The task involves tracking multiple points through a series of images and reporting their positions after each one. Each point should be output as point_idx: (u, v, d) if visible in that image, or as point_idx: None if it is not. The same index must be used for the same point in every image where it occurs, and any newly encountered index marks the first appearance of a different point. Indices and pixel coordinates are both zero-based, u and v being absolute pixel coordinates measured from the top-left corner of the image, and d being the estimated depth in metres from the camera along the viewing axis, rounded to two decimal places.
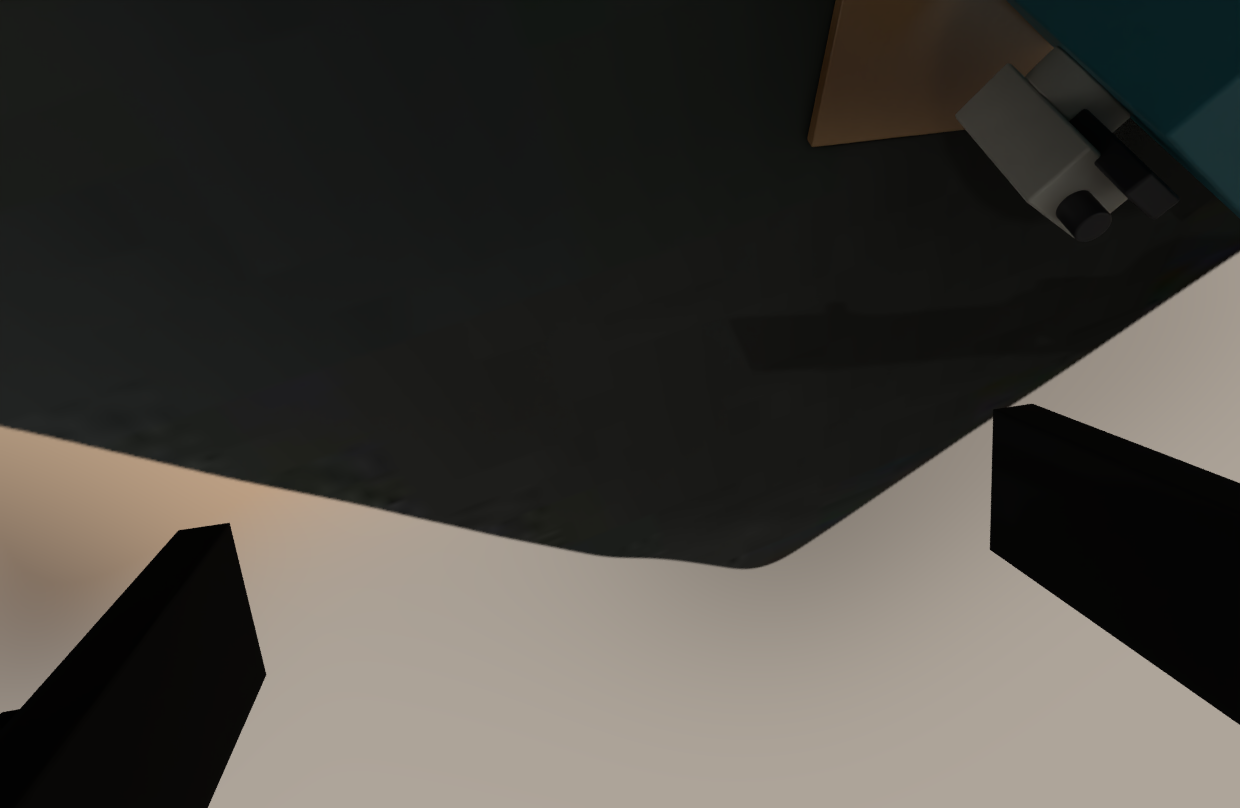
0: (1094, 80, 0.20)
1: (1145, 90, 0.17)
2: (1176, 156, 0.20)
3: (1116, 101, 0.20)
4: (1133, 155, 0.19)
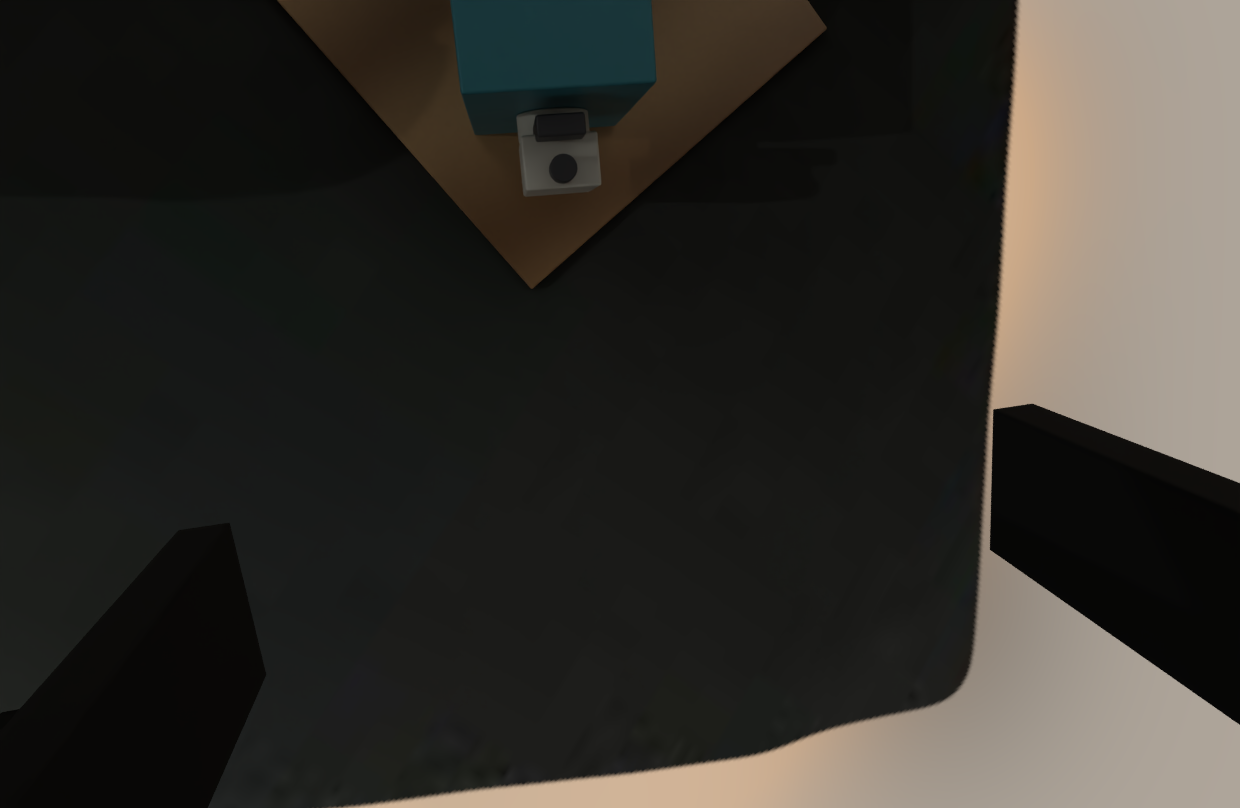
0: (526, 112, 0.29)
1: None
2: (580, 98, 0.27)
3: (545, 109, 0.29)
4: None
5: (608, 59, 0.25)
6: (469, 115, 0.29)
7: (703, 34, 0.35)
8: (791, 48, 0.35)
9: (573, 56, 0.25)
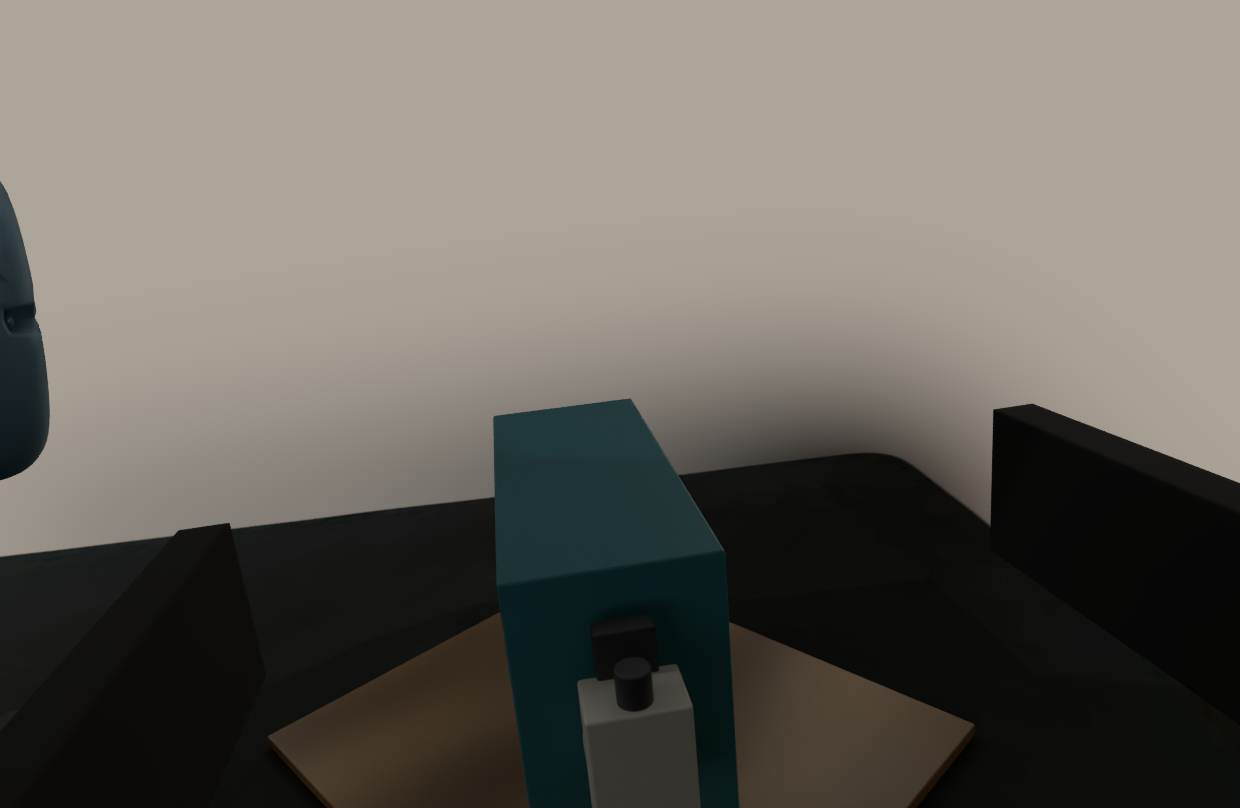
0: None
1: (502, 620, 0.21)
2: None
3: None
4: None
5: (665, 546, 0.22)
6: (519, 731, 0.22)
7: (826, 751, 0.28)
8: (942, 746, 0.28)
9: (625, 549, 0.22)
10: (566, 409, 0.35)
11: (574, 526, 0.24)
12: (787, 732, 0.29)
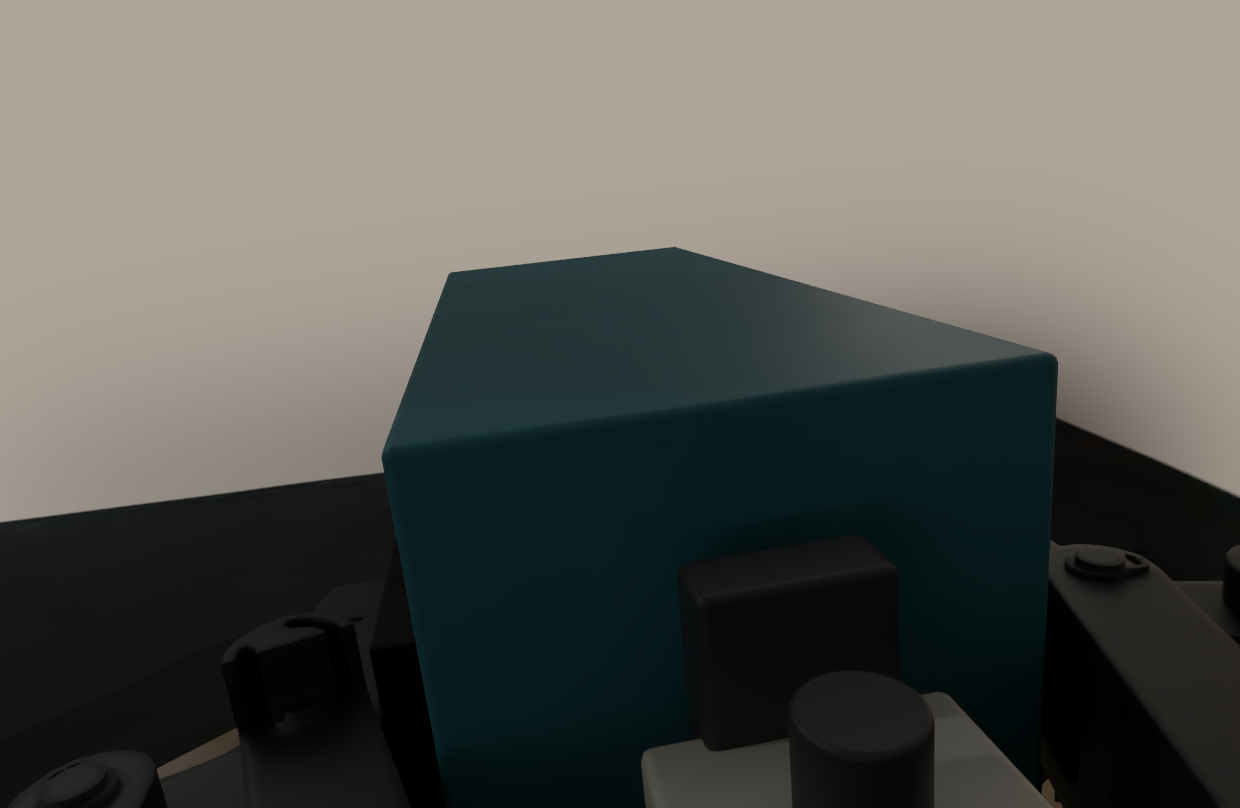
0: None
1: None
2: None
3: None
4: None
5: (870, 356, 0.08)
6: None
7: None
8: None
9: (760, 368, 0.08)
10: (571, 260, 0.21)
11: (607, 348, 0.10)
12: None
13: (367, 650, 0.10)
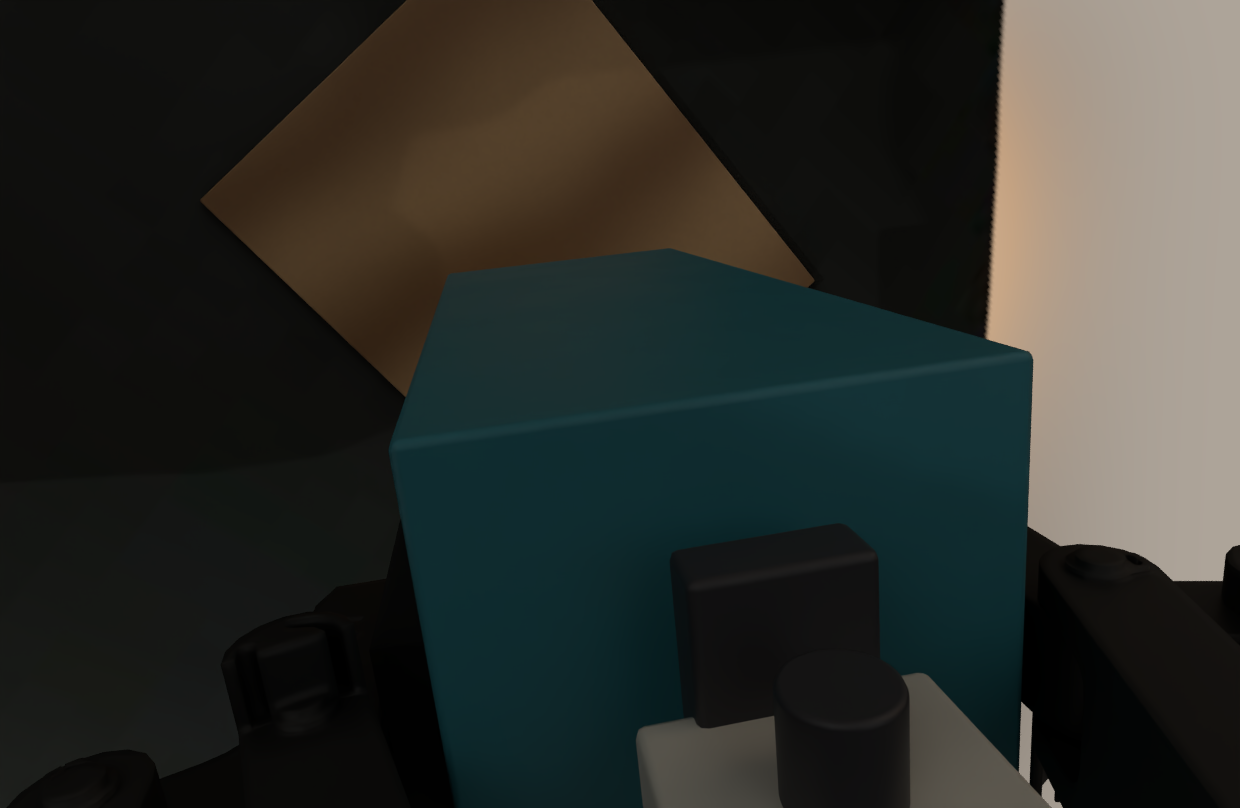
0: None
1: None
2: None
3: None
4: None
5: (856, 354, 0.08)
6: None
7: None
8: None
9: (750, 366, 0.08)
10: (568, 261, 0.21)
11: (603, 346, 0.10)
12: None
13: (367, 650, 0.10)
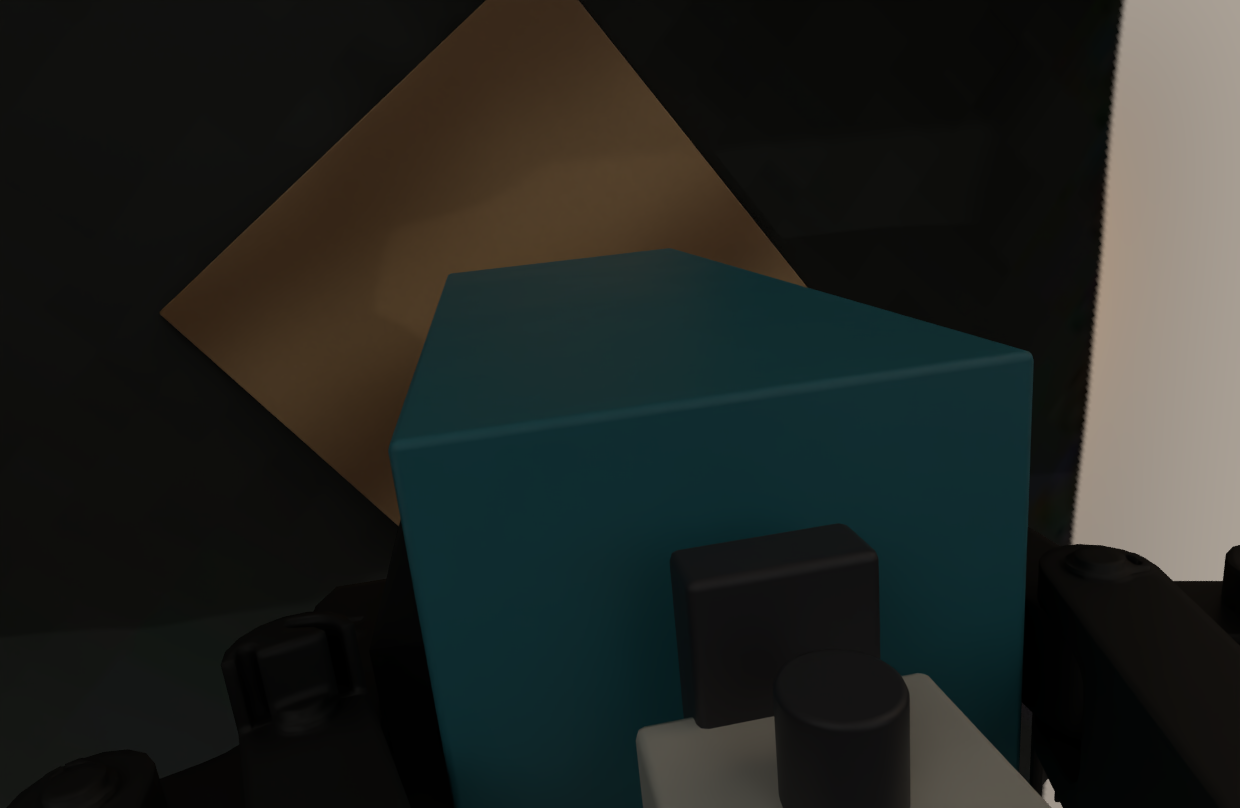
0: None
1: None
2: None
3: None
4: None
5: (855, 355, 0.08)
6: None
7: None
8: None
9: (750, 366, 0.08)
10: (568, 261, 0.21)
11: (603, 348, 0.10)
12: None
13: (367, 650, 0.10)
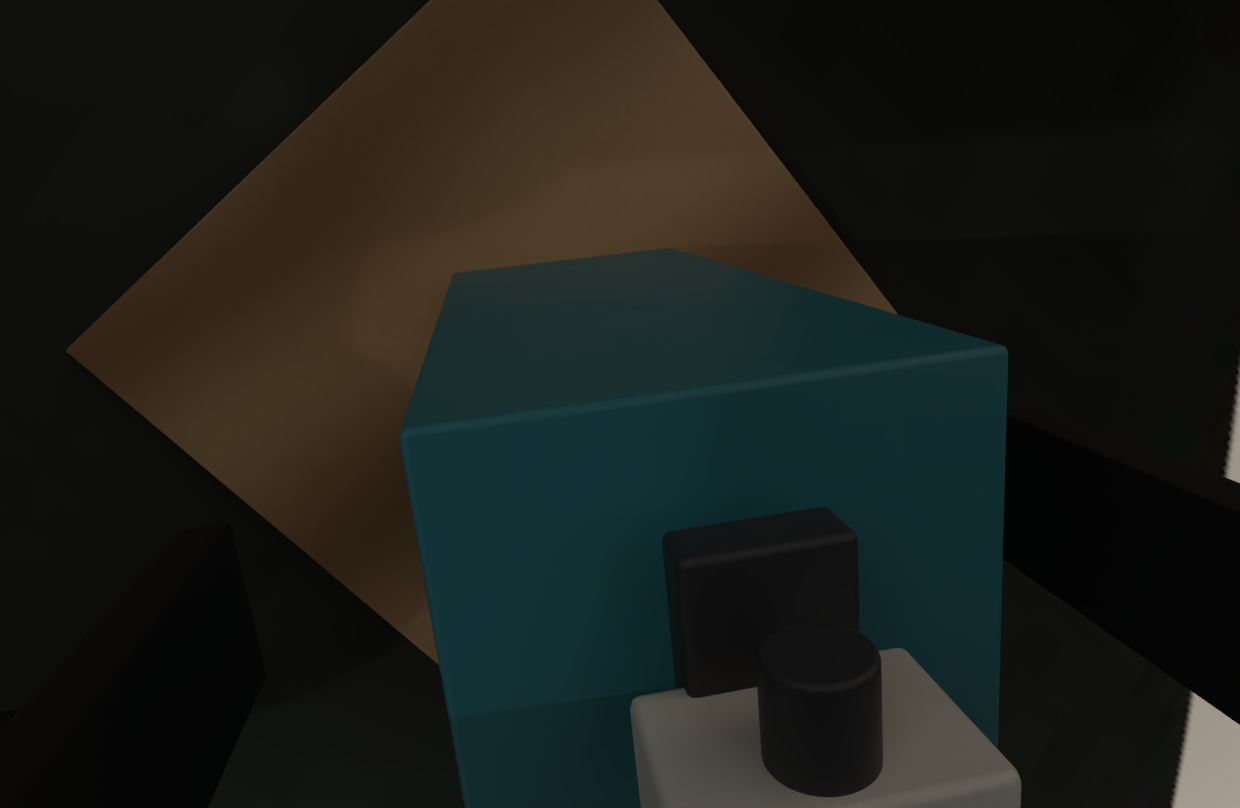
0: None
1: None
2: None
3: None
4: None
5: (841, 349, 0.09)
6: None
7: None
8: None
9: (740, 360, 0.09)
10: (571, 260, 0.22)
11: (602, 342, 0.10)
12: None
13: None
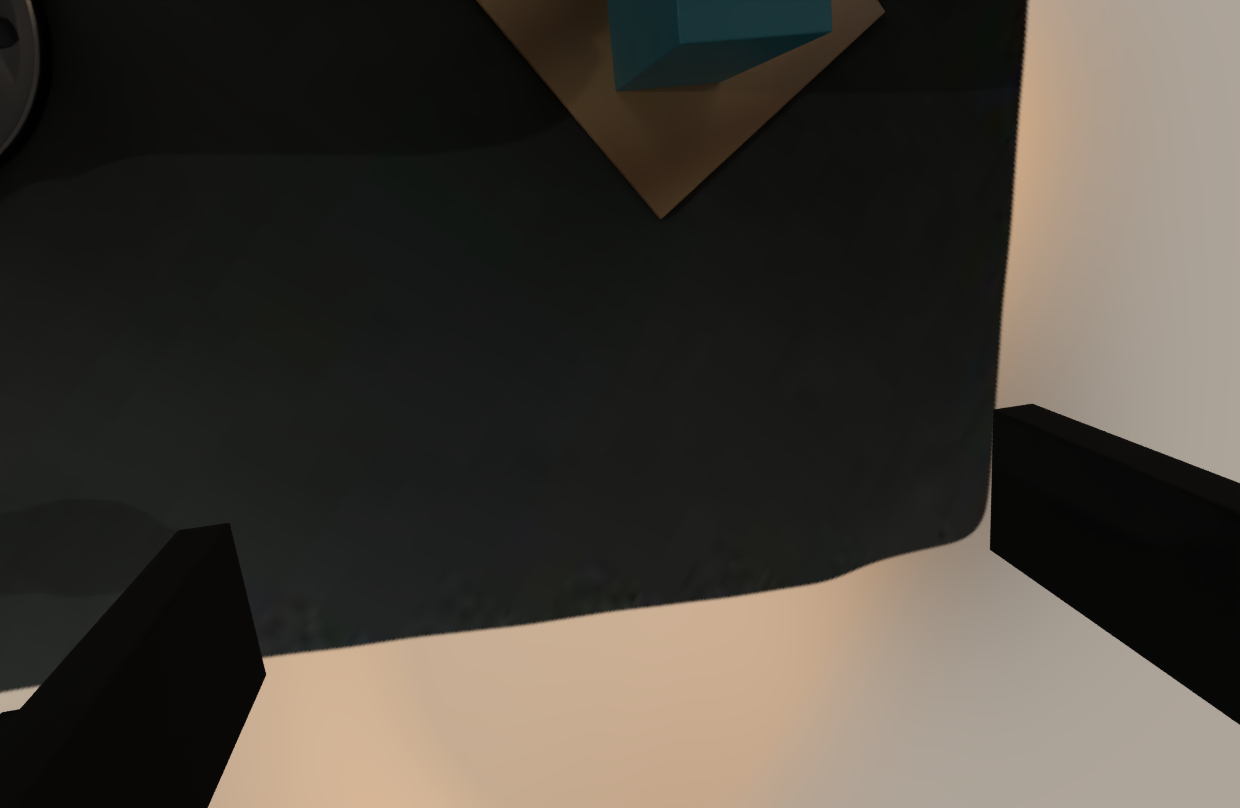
0: None
1: None
2: None
3: None
4: None
5: None
6: None
7: None
8: (858, 28, 0.46)
9: None
10: None
11: None
12: None
13: None
